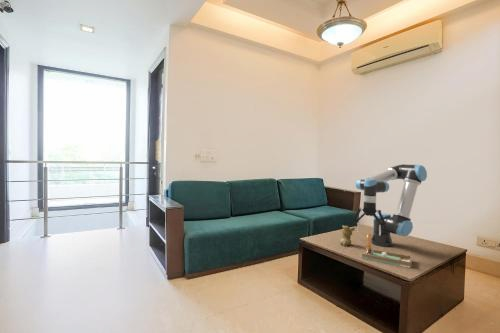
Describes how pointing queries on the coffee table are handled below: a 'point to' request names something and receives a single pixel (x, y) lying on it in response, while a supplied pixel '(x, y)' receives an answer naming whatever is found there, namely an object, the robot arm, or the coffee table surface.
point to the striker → (369, 245)
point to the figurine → (346, 236)
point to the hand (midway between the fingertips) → (368, 233)
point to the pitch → (389, 258)
